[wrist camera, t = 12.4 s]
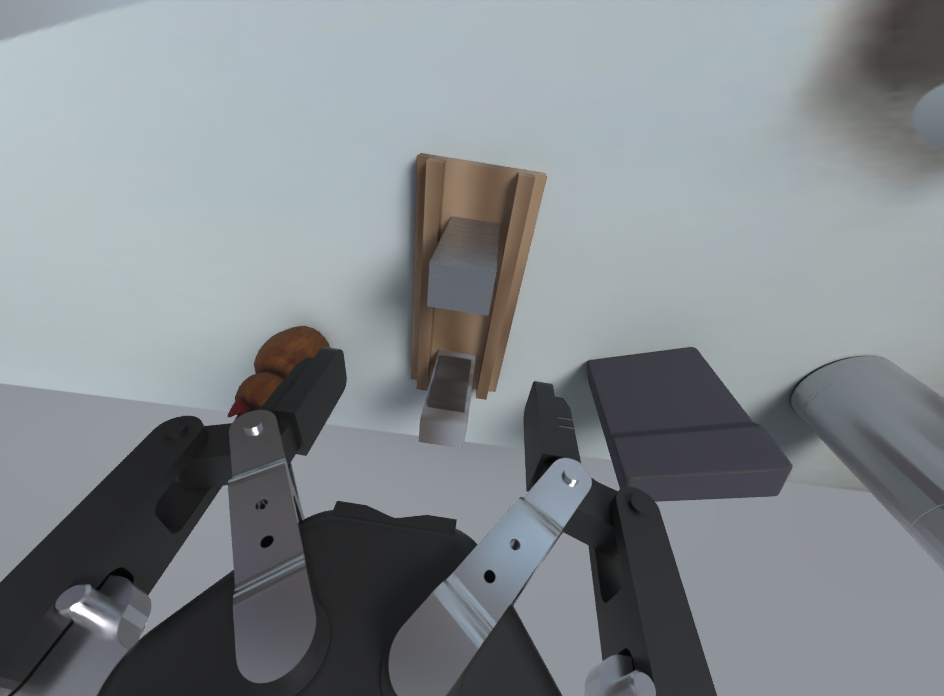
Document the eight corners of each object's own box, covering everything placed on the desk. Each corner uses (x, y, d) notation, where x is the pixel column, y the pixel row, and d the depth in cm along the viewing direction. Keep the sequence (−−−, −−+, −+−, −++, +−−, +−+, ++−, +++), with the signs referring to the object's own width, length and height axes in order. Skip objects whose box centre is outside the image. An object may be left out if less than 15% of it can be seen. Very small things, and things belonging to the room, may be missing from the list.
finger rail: (545, 173, 27) (565, 211, 17) (495, 383, 40) (492, 466, 31) (421, 153, 27) (375, 180, 17) (413, 370, 40) (386, 450, 31)
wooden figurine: (345, 363, 41) (277, 473, 29) (301, 365, 41) (216, 473, 29) (325, 315, 37) (236, 419, 25) (276, 318, 37) (167, 420, 25)
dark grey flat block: (587, 384, 39) (623, 508, 27) (586, 355, 37) (625, 478, 25) (690, 372, 37) (779, 502, 25) (696, 341, 35) (797, 468, 23)
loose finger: (499, 223, 28) (496, 272, 20) (492, 262, 30) (487, 321, 22) (451, 216, 28) (429, 262, 20) (448, 255, 30) (426, 311, 22)
